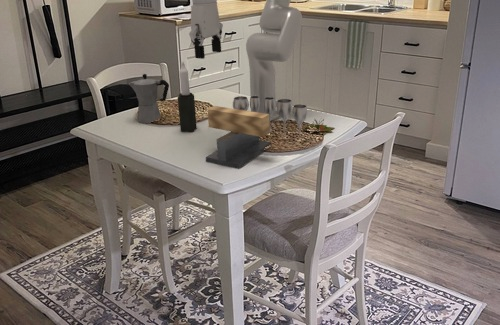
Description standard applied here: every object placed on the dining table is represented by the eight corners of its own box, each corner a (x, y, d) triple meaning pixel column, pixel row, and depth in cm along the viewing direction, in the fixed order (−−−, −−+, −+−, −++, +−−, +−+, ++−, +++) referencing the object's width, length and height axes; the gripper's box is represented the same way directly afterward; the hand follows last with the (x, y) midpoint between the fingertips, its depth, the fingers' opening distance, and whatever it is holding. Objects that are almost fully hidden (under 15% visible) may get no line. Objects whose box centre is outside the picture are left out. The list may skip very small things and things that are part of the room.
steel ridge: (240, 140, 171) (239, 118, 168) (271, 146, 165) (271, 123, 162) (206, 161, 155) (204, 137, 152) (238, 168, 149) (237, 143, 146)
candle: (193, 132, 180) (187, 62, 170) (179, 131, 181) (173, 62, 171) (197, 127, 185) (192, 59, 175) (184, 127, 186) (178, 59, 176)
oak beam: (269, 132, 154) (269, 114, 151) (262, 137, 151) (262, 118, 148) (215, 123, 164) (214, 105, 161) (208, 127, 160) (207, 109, 158)
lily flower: (294, 133, 177) (294, 121, 176) (311, 123, 186) (311, 111, 184) (325, 139, 171) (325, 126, 169) (341, 129, 179) (341, 116, 178)
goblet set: (309, 138, 171) (310, 100, 166) (302, 144, 167) (302, 105, 161) (239, 127, 184) (237, 91, 179) (230, 131, 180) (229, 95, 174)
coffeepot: (129, 124, 191) (123, 77, 184) (136, 116, 200) (130, 71, 193) (169, 123, 190) (165, 76, 183) (174, 115, 199) (170, 70, 192)
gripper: (209, -5, 163) (213, 48, 170) (177, 2, 149) (183, 60, 156) (229, -4, 159) (232, 50, 166) (198, 3, 146) (203, 61, 153)
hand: (208, 54), depth 161 cm, fingers open, 9 cm apart
